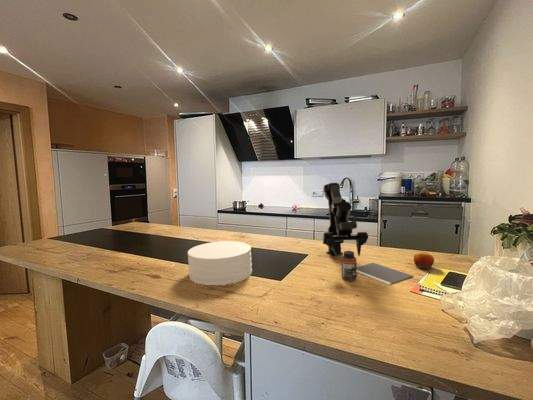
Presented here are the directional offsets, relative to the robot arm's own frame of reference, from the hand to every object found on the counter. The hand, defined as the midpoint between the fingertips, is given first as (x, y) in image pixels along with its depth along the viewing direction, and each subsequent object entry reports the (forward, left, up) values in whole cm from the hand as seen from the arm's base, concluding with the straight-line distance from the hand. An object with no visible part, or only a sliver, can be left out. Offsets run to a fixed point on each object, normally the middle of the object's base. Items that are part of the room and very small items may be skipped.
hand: (348, 255), depth 113 cm
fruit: (+11, +36, -9) cm, 39 cm away
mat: (+5, +15, -9) cm, 18 cm away
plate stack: (-34, -44, -10) cm, 57 cm away
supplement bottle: (+2, -1, -9) cm, 10 cm away
